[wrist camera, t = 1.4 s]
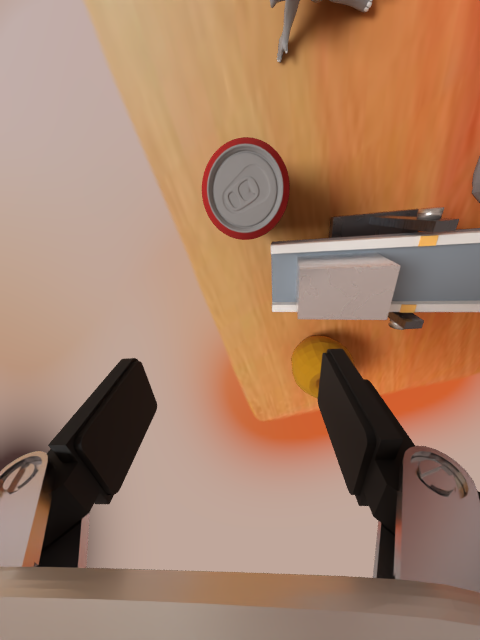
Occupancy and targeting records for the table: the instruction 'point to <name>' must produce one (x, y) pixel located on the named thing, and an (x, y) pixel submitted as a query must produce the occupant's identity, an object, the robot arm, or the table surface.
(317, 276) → the rider
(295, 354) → the apple
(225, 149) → the beverage can
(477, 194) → the coffeepot
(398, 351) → the table surface
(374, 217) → the stand
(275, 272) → the beam
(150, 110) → the table surface
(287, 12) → the elephant figurine
